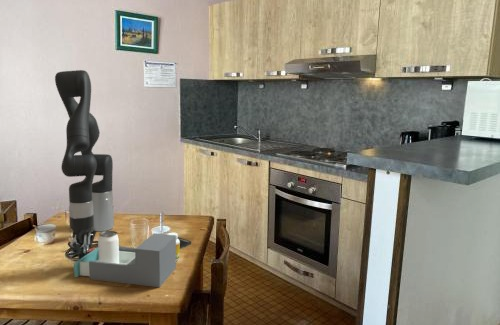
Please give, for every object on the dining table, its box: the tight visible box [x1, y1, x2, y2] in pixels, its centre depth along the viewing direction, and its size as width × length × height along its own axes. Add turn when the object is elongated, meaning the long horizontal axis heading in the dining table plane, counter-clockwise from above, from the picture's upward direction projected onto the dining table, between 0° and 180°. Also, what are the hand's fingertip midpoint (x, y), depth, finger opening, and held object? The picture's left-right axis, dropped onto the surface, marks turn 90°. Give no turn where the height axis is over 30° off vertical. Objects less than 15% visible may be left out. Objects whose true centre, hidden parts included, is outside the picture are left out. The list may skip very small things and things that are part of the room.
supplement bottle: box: [166, 232, 181, 262], centre depth 143 cm, size 5×5×10 cm
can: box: [97, 230, 120, 264], centre depth 131 cm, size 6×6×12 cm
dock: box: [89, 233, 177, 288], centre depth 130 cm, size 14×24×12 cm, turn 80°
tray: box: [73, 246, 136, 278], centre depth 132 cm, size 14×17×4 cm
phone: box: [177, 236, 192, 250], centre depth 160 cm, size 8×1×15 cm
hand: (83, 262), depth 134 cm, fingers closed
